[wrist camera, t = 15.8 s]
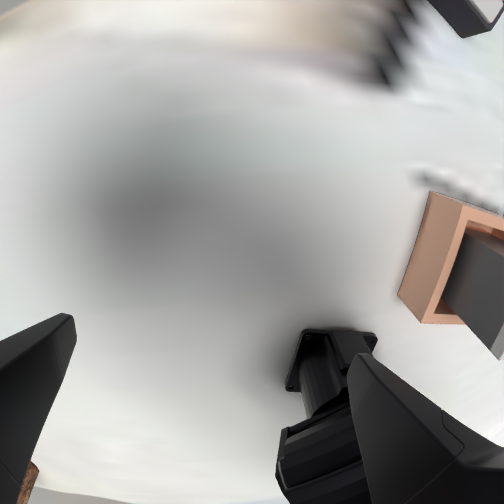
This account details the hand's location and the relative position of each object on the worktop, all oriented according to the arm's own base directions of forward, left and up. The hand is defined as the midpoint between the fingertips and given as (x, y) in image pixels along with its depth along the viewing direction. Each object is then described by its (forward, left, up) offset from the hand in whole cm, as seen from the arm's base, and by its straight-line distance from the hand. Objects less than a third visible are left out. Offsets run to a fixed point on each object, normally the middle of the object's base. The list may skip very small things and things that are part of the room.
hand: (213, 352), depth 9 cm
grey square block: (+1, -18, -12) cm, 21 cm away
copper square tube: (+1, -18, -12) cm, 22 cm away
